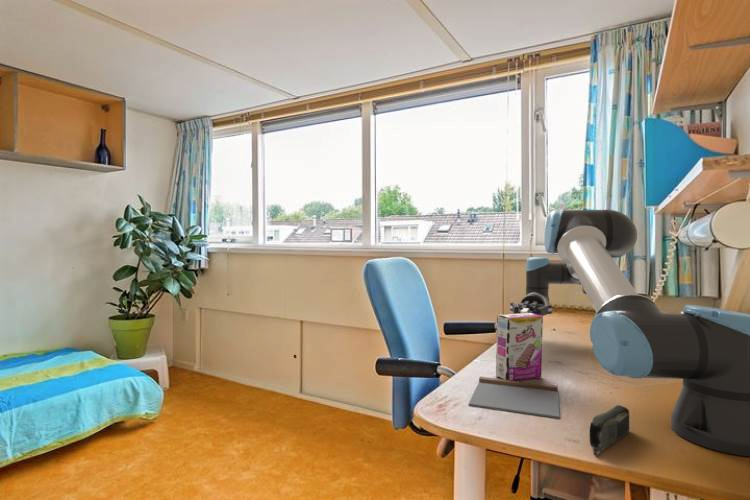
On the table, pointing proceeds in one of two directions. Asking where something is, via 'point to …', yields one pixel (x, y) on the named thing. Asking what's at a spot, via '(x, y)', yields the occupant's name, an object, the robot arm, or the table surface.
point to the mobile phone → (609, 428)
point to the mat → (516, 399)
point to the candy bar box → (519, 346)
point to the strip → (519, 384)
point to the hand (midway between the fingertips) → (523, 316)
